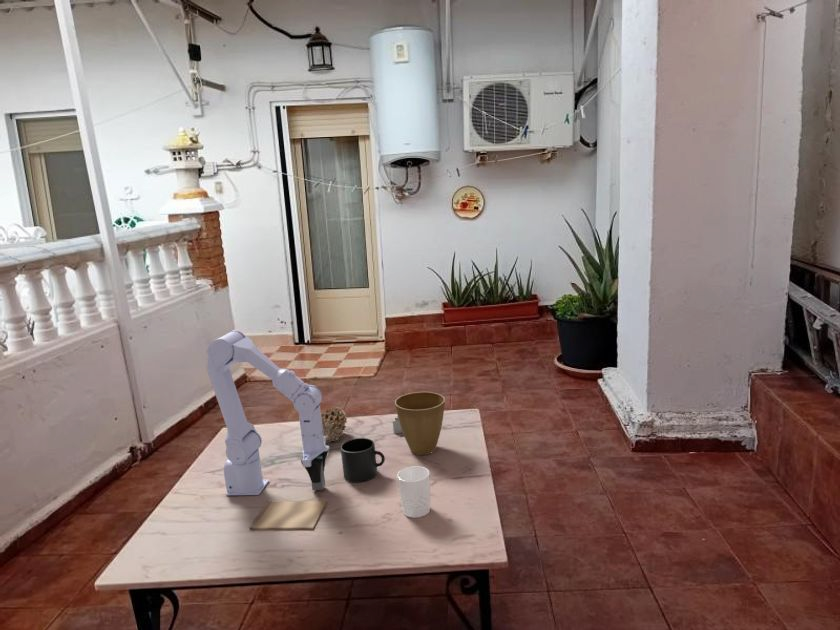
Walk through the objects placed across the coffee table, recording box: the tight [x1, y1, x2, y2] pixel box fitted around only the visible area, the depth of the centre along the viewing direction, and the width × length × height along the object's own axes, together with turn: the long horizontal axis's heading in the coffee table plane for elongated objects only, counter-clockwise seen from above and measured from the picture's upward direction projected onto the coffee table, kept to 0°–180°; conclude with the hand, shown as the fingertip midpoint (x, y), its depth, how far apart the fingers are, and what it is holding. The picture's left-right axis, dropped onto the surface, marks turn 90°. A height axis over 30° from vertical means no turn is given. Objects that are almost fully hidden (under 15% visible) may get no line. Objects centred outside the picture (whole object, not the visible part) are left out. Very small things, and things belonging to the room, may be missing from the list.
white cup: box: [396, 465, 431, 519], centre depth 146 cm, size 8×8×10 cm
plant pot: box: [394, 391, 446, 456], centre depth 179 cm, size 15×15×16 cm
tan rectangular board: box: [248, 500, 328, 531], centre depth 149 cm, size 16×12×1 cm
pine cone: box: [321, 406, 348, 444], centre depth 189 cm, size 22×10×10 cm, turn 173°
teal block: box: [310, 456, 326, 491], centre depth 160 cm, size 3×3×9 cm
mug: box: [340, 437, 386, 483], centre depth 167 cm, size 9×12×9 cm
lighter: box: [392, 415, 403, 435], centre depth 194 cm, size 7×2×8 cm, turn 93°
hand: (317, 479), depth 161 cm, fingers closed on teal block, 3 cm apart
